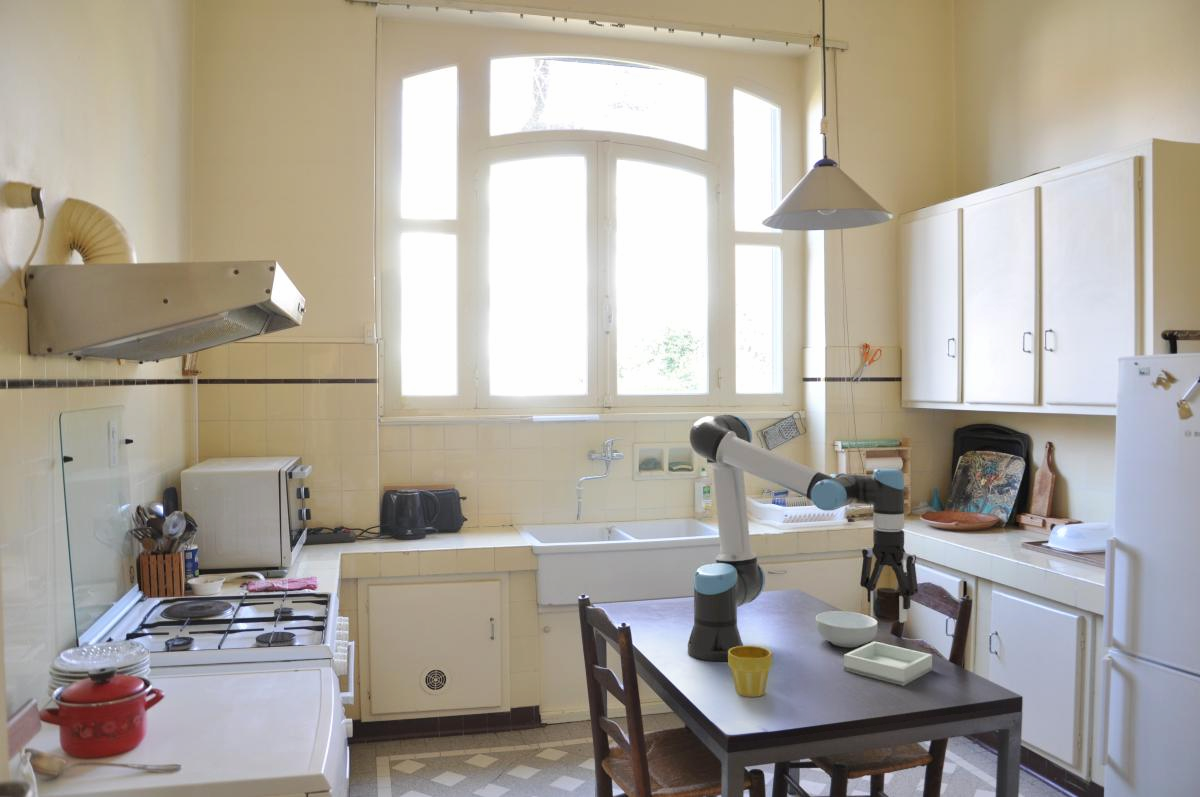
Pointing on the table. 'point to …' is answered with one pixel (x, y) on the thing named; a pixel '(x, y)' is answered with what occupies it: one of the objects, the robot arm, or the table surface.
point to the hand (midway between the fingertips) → (888, 618)
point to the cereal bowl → (846, 628)
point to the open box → (888, 663)
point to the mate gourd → (887, 604)
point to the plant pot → (750, 669)
